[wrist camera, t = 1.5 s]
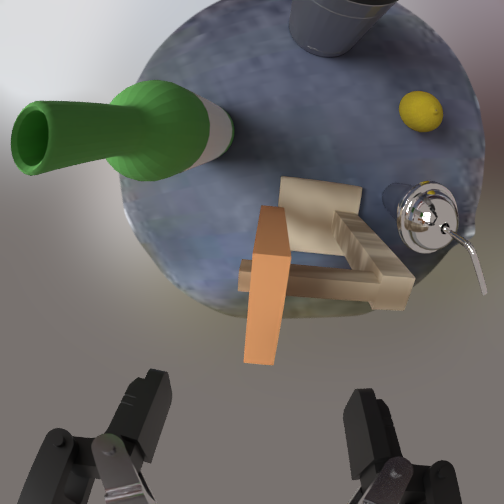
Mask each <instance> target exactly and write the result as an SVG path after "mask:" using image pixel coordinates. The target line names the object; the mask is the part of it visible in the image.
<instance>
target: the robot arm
mask: <svg viewBox="0 0 504 504" xmlns="http://www.w3.org/2000/svg"><path fill="white" fill-rule="evenodd" d="M397 1H398V0H292V6H291V13H290V20H289V29H290V33H291V35H292V38H293V39H294V40H295V42H296V43H297V44H298V45H299V46H300V47H301V48H303V49H304V50H306V51H307V52H309V53H312V54H314V55H318V56H322V57H336V56H339V55H342V54H344V53H346V52H348V51H349V50H350V49H351V48H352V47H353V46H354V45H355V44H356V43H357V42H358V41H359V40H360V38H361V37H362V36H363V35H364V34H365V33H366V32H367V31H368V30H369V29H370V28H371V27H372V26H373V25H374V24H375V23H376V22H377V21H378V20H379V19H380V18H381V17H382V16H383V15H384V14H385V13H386V12H387V11H388V10H389V9H390V8H391V7H392V6H393V5H394V4H395V3H396V2H397ZM171 401H172V390H171V386H170V380H169V375H168V372H165V371H160V370H156V369H150V370H149V371H148V373H147V375H146V377H145V379H142V378H139V377H138V378H137V379H135V380H134V381H133V382H132V383H131V384H130V385H129V386H128V388H127V390H126V392H125V396H123V398H122V400H121V403H120V405H119V407H118V409H117V411H116V413H115V415H114V417H113V419H112V421H111V423H110V425H109V427H108V429H107V431H106V432H105V433H104V434H101V435H99V436H97V437H96V438H83V437H74V436H72V435H71V434H70V433H69V432H68V431H67V430H65V429H61V428H56V429H53V430H51V431H49V432H48V434H47V435H46V437H45V439H44V441H43V443H42V445H41V447H40V450H39V452H38V454H37V456H36V459H35V461H34V463H33V465H32V467H31V470H30V472H29V475H28V477H27V479H26V482H25V484H24V487H23V489H22V492H21V495H20V498H19V500H18V503H17V504H87V502H88V499H89V495H90V492H91V489H92V486H93V483H94V480H95V478H96V479H101V480H102V483H103V486H104V488H105V492H106V495H105V501H106V504H158V503H157V501H156V499H155V497H154V495H153V494H152V491H151V490H150V487H149V486H148V483H147V481H146V479H145V477H144V475H143V473H142V471H141V467H142V464H143V461H145V462H148V463H151V462H152V458H153V456H154V452H155V449H156V446H157V443H158V440H159V437H160V434H161V431H162V429H163V426H164V423H165V420H166V417H167V414H168V411H169V408H170V405H171ZM343 421H344V427H345V434H346V440H347V447H348V454H349V460H350V468H351V476H352V480H358V479H360V481H361V485H360V486H359V487H358V489H357V490H356V492H355V493H354V495H353V496H352V498H351V499H350V500H349V502H348V503H347V504H398V503H399V504H462V501H461V497H460V492H459V486H458V482H457V478H456V473H455V470H454V467H453V465H452V464H451V463H449V462H448V461H443V460H441V461H438V462H436V463H434V464H433V465H432V466H423V465H414V464H411V462H410V461H409V460H407V459H406V458H404V457H403V456H402V453H401V450H400V446H399V442H398V439H397V435H396V432H395V428H394V427H393V422H392V419H391V414H390V411H389V408H388V406H387V405H386V404H385V403H384V401H383V400H382V399H376V397H375V393H374V391H373V389H372V388H367V389H355V390H354V392H353V394H352V396H351V397H350V399H349V401H348V403H347V405H346V407H345V409H344V413H343Z"/></svg>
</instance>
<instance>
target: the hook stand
mask: <svg viewBox="0 0 504 504" xmlns="http://www.w3.org/2000/svg"><path fill="white" fill-rule="evenodd" d="M361 194H362V187H360V186H354V185H348V184H341V183H334V182H327V181H320V180H312V179H304V178H296V177H287V176H281V182H280V192H279V202H278V207H283V208H284V210H285V216H286V223H287V230H288V237H289V244H290V250H291V251H301V252H311V253H321V254H330V255H340V256H345V257H346V259H347V261H348V263H349V265H350V267H351V268H352V270H349V269H339V268H328V267H317V266H307V265H296V264H290V269H289V275H288V282H287V289H286V296H298V297H310V298H323V299H337V300H352V301H369V304H370V306H371V308H372V309H376V310H404V309H405V306H406V304H407V301H408V298H409V296H410V293H411V290H412V287H413V284H414V281H415V277H414V276H413V274H412V273H411V272H410V271H409V270H408V269H407V268H406V266H405V265H404V264H403V263H402V262H401V261H400V260H399V258H398V257H397V256H396V255H395V254H394V253H393V252H392V251H391V250H390V248H389V247H388V246H387V245H386V244H385V243H384V242H383V241H382V240H381V239H380V238H379V237H378V236H377V235H376V233H375V232H374V231H373V230H372V229H371V228H370V227H369V226H368V225H367V224H366V223H365V222H364V221H363V220H362V219H361V218H360V217H359V216H358V212H359V206H360V200H361ZM251 269H252V260H245V259H242V261H241V265H240V269H239V280H238V291H245V292H250V281H251Z"/></svg>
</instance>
